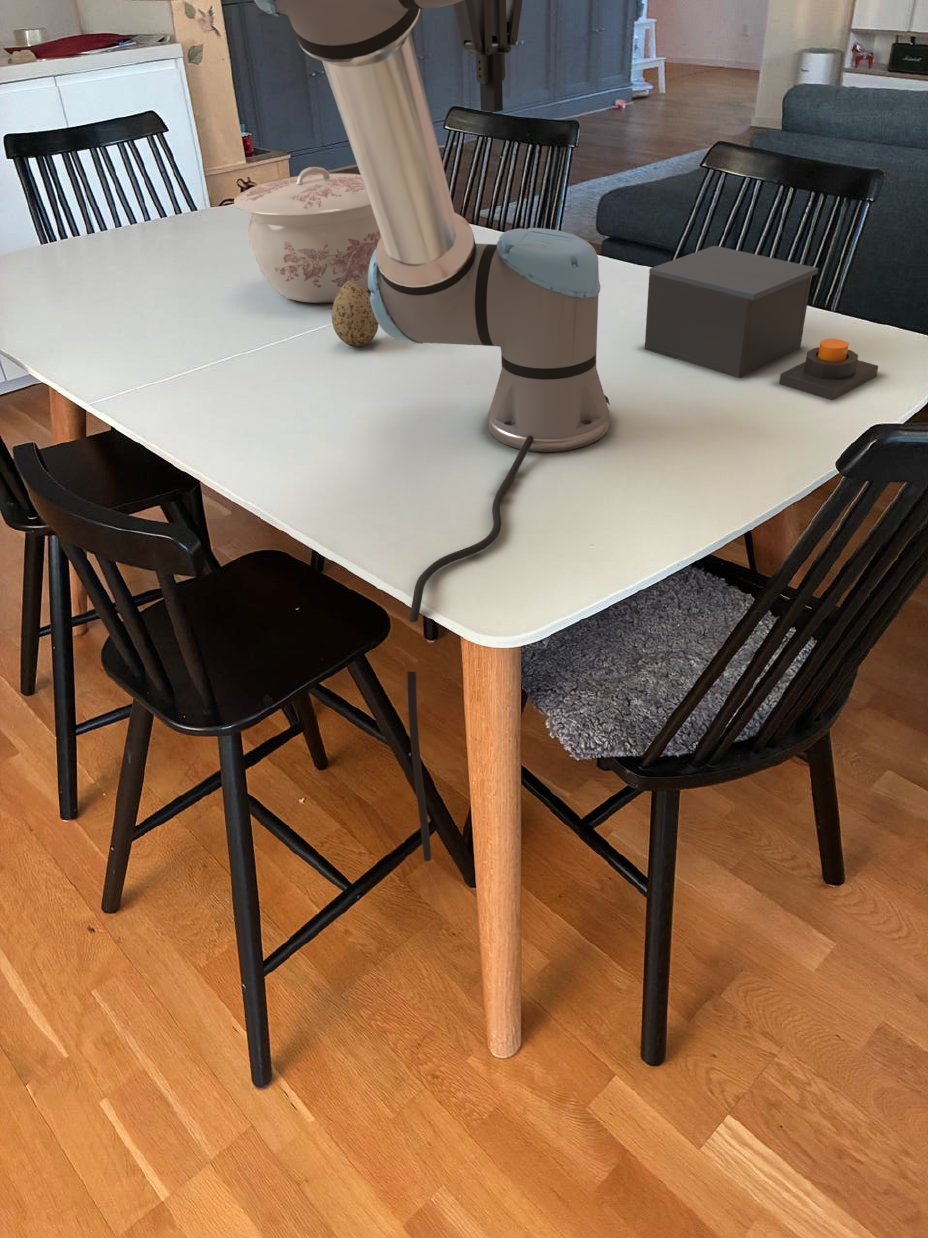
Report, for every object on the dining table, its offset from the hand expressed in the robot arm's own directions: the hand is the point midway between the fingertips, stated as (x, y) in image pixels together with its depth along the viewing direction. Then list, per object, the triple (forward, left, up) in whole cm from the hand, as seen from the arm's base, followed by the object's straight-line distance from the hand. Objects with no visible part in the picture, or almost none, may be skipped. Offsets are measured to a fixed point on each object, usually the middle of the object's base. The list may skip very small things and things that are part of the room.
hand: (491, 110), depth 129 cm
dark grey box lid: (-2, -33, -21) cm, 40 cm away
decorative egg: (+2, +22, -33) cm, 39 cm away
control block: (-14, -46, -32) cm, 58 cm away
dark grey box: (-2, -33, -32) cm, 46 cm away
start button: (-14, -46, -29) cm, 56 cm away
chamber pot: (+29, +32, -33) cm, 54 cm away
